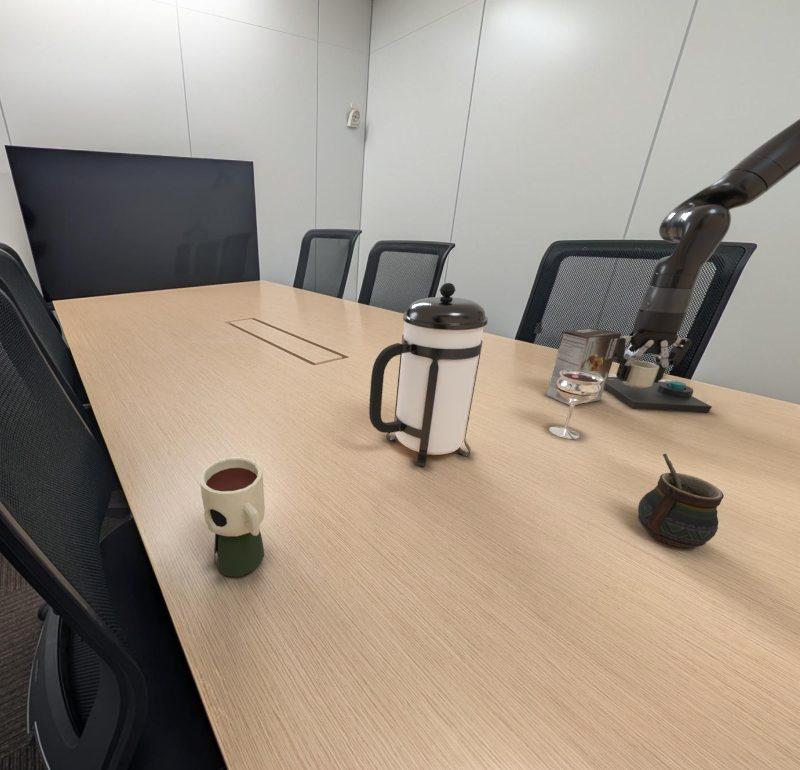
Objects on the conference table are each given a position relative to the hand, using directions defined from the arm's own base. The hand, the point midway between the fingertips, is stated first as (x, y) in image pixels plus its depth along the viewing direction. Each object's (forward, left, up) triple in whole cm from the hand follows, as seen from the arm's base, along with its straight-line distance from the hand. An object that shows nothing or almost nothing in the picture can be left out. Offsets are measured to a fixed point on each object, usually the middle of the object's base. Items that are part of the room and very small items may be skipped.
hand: (637, 380), depth 87 cm
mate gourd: (+21, +48, -4) cm, 53 cm away
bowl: (0, 0, -1) cm, 1 cm away
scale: (-4, 0, -4) cm, 5 cm away
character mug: (+76, +63, -4) cm, 98 cm away
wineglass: (+22, +21, -4) cm, 31 cm away
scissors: (-7, -13, -4) cm, 15 cm away
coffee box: (+13, +3, -4) cm, 15 cm away
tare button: (-8, 0, -1) cm, 8 cm away
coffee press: (+50, +32, -4) cm, 60 cm away
